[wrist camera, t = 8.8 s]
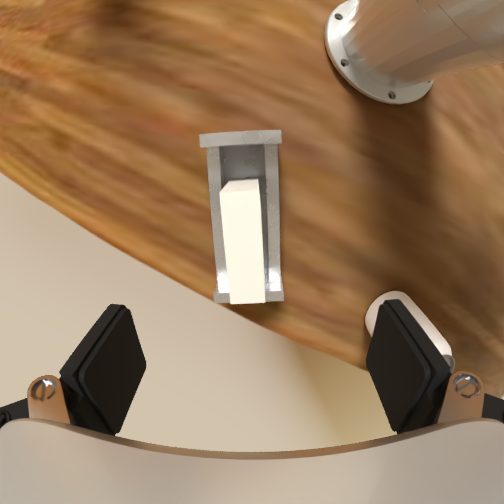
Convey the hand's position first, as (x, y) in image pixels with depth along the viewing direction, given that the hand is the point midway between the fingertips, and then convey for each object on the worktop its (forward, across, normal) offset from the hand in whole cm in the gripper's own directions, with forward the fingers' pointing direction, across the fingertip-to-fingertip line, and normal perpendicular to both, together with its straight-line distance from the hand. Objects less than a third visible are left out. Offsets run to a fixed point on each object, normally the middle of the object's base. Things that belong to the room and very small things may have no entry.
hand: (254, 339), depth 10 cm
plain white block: (+18, +1, 0) cm, 18 cm away
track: (+18, +1, -1) cm, 19 cm away
